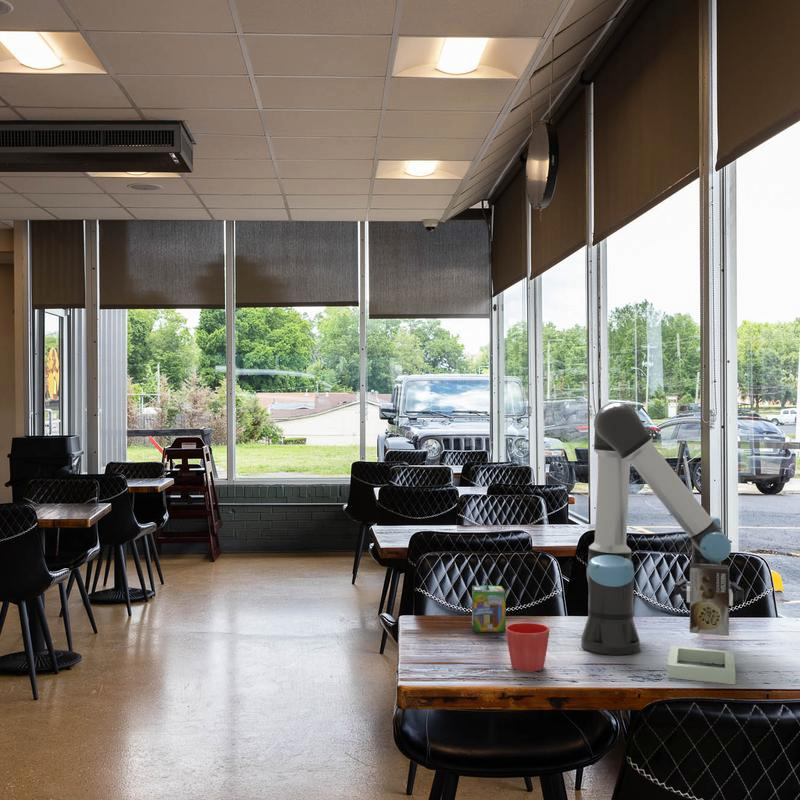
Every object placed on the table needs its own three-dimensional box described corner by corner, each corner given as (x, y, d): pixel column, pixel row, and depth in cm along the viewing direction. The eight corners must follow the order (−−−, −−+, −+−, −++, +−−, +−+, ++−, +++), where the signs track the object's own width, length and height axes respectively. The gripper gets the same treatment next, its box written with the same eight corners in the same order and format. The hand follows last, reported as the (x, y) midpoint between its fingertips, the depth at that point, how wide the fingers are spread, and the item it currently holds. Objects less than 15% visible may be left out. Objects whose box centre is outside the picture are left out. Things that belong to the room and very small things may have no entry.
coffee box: (727, 630, 221) (729, 564, 221) (729, 636, 215) (730, 569, 215) (688, 626, 224) (690, 562, 224) (689, 633, 217) (690, 566, 217)
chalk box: (505, 632, 252) (506, 580, 252) (473, 632, 252) (473, 579, 252) (502, 624, 261) (503, 573, 261) (471, 624, 261) (471, 573, 261)
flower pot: (496, 667, 218) (496, 627, 218) (522, 658, 226) (522, 620, 226) (532, 677, 211) (532, 635, 211) (558, 667, 219) (558, 627, 219)
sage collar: (667, 677, 211) (667, 664, 211) (670, 657, 228) (670, 645, 228) (735, 684, 207) (735, 671, 207) (733, 663, 224) (733, 651, 224)
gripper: (751, 598, 233) (758, 618, 212) (663, 591, 240) (662, 610, 218) (751, 569, 233) (758, 586, 212) (664, 563, 240) (662, 579, 218)
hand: (709, 598), depth 215 cm, fingers closed on coffee box, 9 cm apart
